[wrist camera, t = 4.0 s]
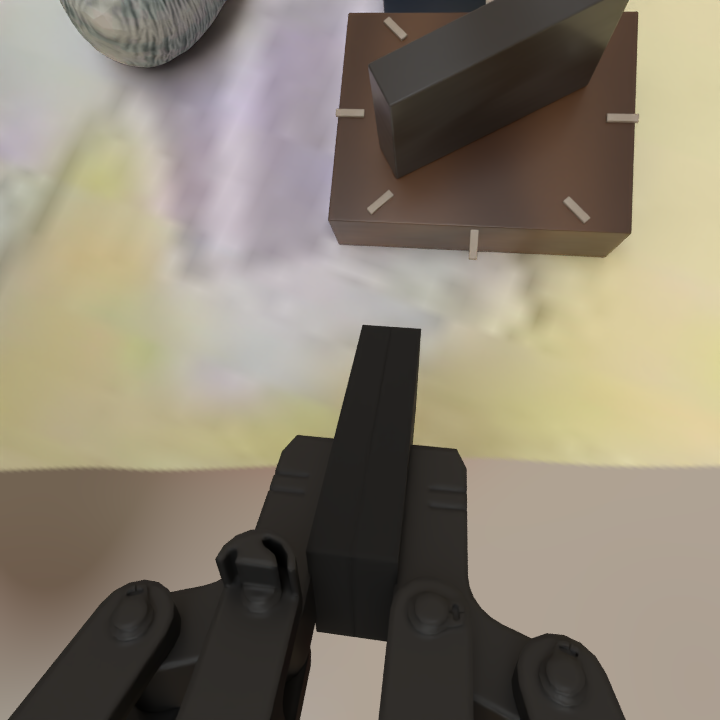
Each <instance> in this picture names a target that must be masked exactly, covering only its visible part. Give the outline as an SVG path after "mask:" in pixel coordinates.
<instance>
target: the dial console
mask: <svg viewBox="0 0 720 720" xmlns="http://www.w3.org/2000/svg"><path fill="white" fill-rule="evenodd" d="M491 1H493V0H486V4H487V3H489V2H491ZM468 13H470V12H461V13H349V14H348V24H347V34H346V45H345V55H344V65H343V75H342V85H341V95H340V105H339V109H336V117H338V126H337V136H336V146H335V156H334V166H333V176H332V186H331V196H330V207H329V217H328V221H329V223H330V225H331V227H332V229H333V232H334V234H335V236H336V238H337V241H338V243H339V244H344V245H365V246H386V247H406V248H427V249H447V250H468V251H469V260H476V259H477V251H488V252H509V253H530V254H550V255H571V256H591V257H606V256H607V255H608V254H609V253H610V252H611V251H613V250H614V249H615V248H616V247H617V246H618V245H619V244H620V243H621V242H622V241H623V240H624V239H626V238H627V237H628V236H629V235H630V234H631V225H632V193H633V162H634V130H635V123H638V121H639V114H635V98H636V67H637V35H638V12H623V14H622V16H621V18H620V20H619V22H618V24H617V26H616V28H615V30H614V32H613V34H612V36H611V38H610V40H609V42H608V44H607V46H606V48H605V51H604V53H603V55H602V57H601V59H600V61H599V63H598V65H597V67H596V69H595V71H594V73H593V75H592V77H591V79H590V81H589V83H588V85H587V86H585V87H583V88H581V89H579V90H577V91H574V92H572V93H570V94H568V95H566V96H564V97H562V98H560V99H558V100H556V101H554V102H552V103H550V104H548V105H546V106H544V107H542V108H540V109H538V110H536V111H534V112H532V113H530V114H528V115H526V116H524V117H522V118H520V119H518V120H516V121H514V122H512V123H510V124H508V125H506V126H504V127H502V128H500V129H498V130H496V131H494V132H491V133H489V134H487V135H485V136H483V137H481V138H479V139H477V140H475V141H473V142H471V143H469V144H467V145H465V146H463V147H461V148H459V149H457V150H455V151H453V152H451V153H449V154H447V155H445V156H443V157H441V158H439V159H437V160H435V161H433V162H431V163H429V164H427V165H425V166H423V167H421V168H419V169H417V170H415V171H413V172H411V173H408V174H406V175H404V176H402V177H400V178H398V179H397V178H396V177H395V175H394V173H393V171H392V169H391V167H390V165H389V163H388V162H387V160H386V158H385V156H384V154H383V152H382V150H381V148H380V145H379V138H378V131H377V125H376V118H375V111H374V104H373V97H372V91H371V84H370V77H369V70H368V64H369V63H371V62H373V61H375V60H377V59H379V58H381V57H383V56H385V55H387V54H389V53H391V52H393V51H395V50H397V49H399V48H401V47H403V46H405V45H407V44H408V43H410V42H412V41H414V40H416V39H418V38H420V37H422V36H424V35H426V34H428V33H430V32H432V31H434V30H436V29H438V28H440V27H442V26H444V25H446V24H448V23H450V22H452V21H454V20H456V19H458V18H460V17H462V16H464V15H466V14H468Z"/></svg>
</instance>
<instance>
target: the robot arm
mask: <svg viewBox="0 0 720 720" xmlns="http://www.w3.org/2000/svg"><path fill="white" fill-rule="evenodd" d="M420 338H421V329H415V328H400V327H386V326H371V325H363V326H362V330H361V333H360V337H359V341H358V345H357V349H356V353H355V357H354V361H353V365H352V369H351V373H350V377H349V381H348V385H347V389H346V393H345V397H344V401H343V405H342V409H341V413H340V417H339V421H338V425H337V429H336V433H335V437H334V439H333V438H322V437H312V436H302V435H297V436H296V437H295V438H294V439H293V440H292V441H291V442H290V443H289V444H288V446H287V447H286V448H285V449H284V450H283V451H282V453H281V456H280V459H279V462H278V465H277V468H276V470H275V475H274V476H273V479H272V482H271V485H270V490H269V491H268V494H267V496H266V499H265V502H264V505H263V508H262V511H261V514H260V517H259V520H258V522H257V526H256V528H255V530H249V531H247V532H244V533H242V534H239V535H237V536H235V537H234V538H233V539H232V540H230V541H229V542H228V543H226V544H225V545H224V546H223V548H222V549H221V551H220V552H219V554H218V556H217V557H216V559H215V560H216V563H217V566H218V569H219V572H220V576H221V578H222V579H220V580H218V581H217V582H214V583H212V584H208V585H204V586H200V587H195V588H189V589H184V590H179V591H174V592H170V591H169V590H168V589H167V588H165V587H164V586H163V585H162V584H160V583H159V582H155V581H149V580H141V581H136V582H131V583H128V584H126V585H124V586H123V587H121V588H119V589H117V590H115V591H114V592H113V593H111V594H110V595H109V596H108V597H107V598H106V599H105V600H104V601H103V602H102V603H101V604H100V605H99V607H98V608H97V609H96V610H95V612H94V613H93V614H92V615H91V617H90V618H89V619H88V620H87V622H86V623H85V624H84V625H83V627H82V628H81V629H80V630H79V632H78V633H77V634H76V635H75V637H74V638H73V639H72V640H71V642H70V643H69V644H68V645H67V647H66V648H65V649H64V650H63V652H62V653H61V654H60V655H59V657H58V658H57V659H56V660H55V662H54V663H53V664H52V665H51V667H50V668H49V669H48V670H47V672H46V673H45V674H44V675H43V677H42V678H41V679H40V680H39V682H38V683H37V684H36V685H35V687H34V688H33V689H32V690H31V692H30V693H29V694H28V695H27V697H26V698H25V699H24V700H23V702H22V703H21V704H20V706H19V707H18V708H17V709H16V710H15V712H14V713H13V714H12V715H11V717H10V718H9V719H8V720H300V716H301V711H302V706H303V701H304V696H305V691H306V686H307V681H308V676H309V671H310V666H311V649H310V645H311V640H312V635H313V630H314V626H315V623H316V630H317V632H324V633H331V634H337V635H344V636H351V637H359V638H366V639H373V640H380V641H387V646H386V655H385V664H384V674H383V684H382V693H381V702H380V711H379V720H626V719H625V717H624V715H623V712H622V710H621V708H620V705H619V703H618V700H617V698H616V696H615V693H614V691H613V689H612V686H611V684H610V682H609V679H608V677H607V675H606V673H605V671H604V669H603V668H602V666H601V664H600V663H599V661H598V660H597V658H596V656H595V655H593V654H592V653H591V652H590V651H589V650H588V649H587V648H586V647H584V646H583V645H582V644H581V643H580V642H577V641H575V640H573V639H571V638H569V637H567V636H565V635H558V634H548V633H547V634H544V635H540V636H538V637H535V638H529V637H527V636H525V635H523V634H521V633H519V632H517V631H515V630H513V629H511V628H509V627H507V626H504V625H502V624H501V623H499V622H497V621H496V620H494V619H493V618H491V617H490V616H489V615H488V614H487V613H486V612H485V611H484V610H482V609H481V607H480V606H479V604H478V603H477V602H476V600H475V599H474V597H473V594H472V592H471V589H470V587H469V580H468V556H467V555H468V553H467V494H466V491H467V475H466V474H467V473H466V472H467V470H466V467H465V465H464V463H463V461H462V459H461V457H460V455H459V453H458V451H457V449H451V448H440V447H430V446H419V445H412V444H413V433H414V423H415V412H416V399H417V383H418V368H419V353H420Z"/></svg>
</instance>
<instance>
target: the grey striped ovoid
mask: <svg viewBox="0 0 720 720" xmlns="http://www.w3.org/2000/svg"><path fill="white" fill-rule="evenodd" d="M225 1H226V0H60V2H61V4H62V6H63V8H64V9H65V11H66V13H67V14H68V16H69V18H70V19H71V21H72V23H73V24H74V26H75V27H76V28H77V30H78V31H79V32H80V34H81V35H82V36H83V37H84V38H85V39H86V40H87V41H88V42H89V43H90V44H91V45H92V46H93V47H94V48H95V49H96V50H98V51H99V52H101V53H102V54H103V55H105V56H107V57H109V58H110V59H112V60H115V61H117V62H119V63H122V64H126V65H129V66H137V67H148V68H149V67H155V66H159V65H162V64H164V63H167V62H169V61H171V60H172V59H174V58H175V57H177V56H178V55H180V54H182V53H184V52H186V51H187V50H188V49H189V48H190V47H192V46H193V45H194V44H195V43H196V42H197V41H198V40H199V39H200V37H201V36H202V35H203V34H204V33H205V31H206V30H207V29H208V28H209V27H210V26H211V24H212V23H213V21H214V20H215V19H216V17H217V15H218V13H219V12H220V10H221V8H222V6H223V5H224V3H225Z"/></svg>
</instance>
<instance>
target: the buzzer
mask: <svg viewBox="0 0 720 720" xmlns="http://www.w3.org/2000/svg"><path fill="white" fill-rule="evenodd" d="M383 1H384V13H461V12H472V11H474V10H476V9H478V8H480V7H482V6H483V5H485V4H486V0H383Z"/></svg>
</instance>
